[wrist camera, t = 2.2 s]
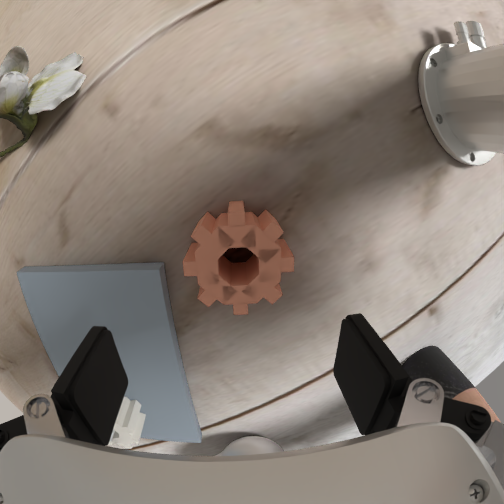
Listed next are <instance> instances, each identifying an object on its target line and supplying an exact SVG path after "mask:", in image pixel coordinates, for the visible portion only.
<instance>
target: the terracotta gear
mask: <svg viewBox="0 0 504 504" xmlns="http://www.w3.org/2000/svg"><path fill="white" fill-rule="evenodd" d="M283 233H284V232H283V230H282V228H281V227H280V225H279V224H278V222H277V220H276V219H275V218H274V217H273V216H272V215H271V214H270V213H269V212H268V211H267V210H266V209H265V210H264V211H263V212H262V213H261V214H260V216H259V217H257V216H256V215H255V214H254V213H252V212H245V210H244V204H243V201H229V208H228V213H221V214H220V215H219V216H218V217H217V218H216V219H215V218H214V217H213V216H212V215H211V214H210V213H208V212H207V213H206V214H205V215H204V216H203V217H202V218H201V219H200V220H199V222H198V224H197V225H196V227H195V229H194V231H193V233H192V235H191V237H192V238H193V239H194V240H195V241H197V242H198V243H191V245H190V247H189V249H188V251H187V254H186V256H185V258H184V260H183V270H184V276H197V279H198V285H199V286H200V290H199V294H198V298H197V299H199V300H200V301H201V302H203V303H204V304H205V305H206V306H208V307H210V306H211V305H212V304H213V303H214V302H215V301H216V300H218V301H220V302H221V303H222V304H224V305H230V304H233V312H234V315H244V314H248V304H253V303H258V302H259V301H260V300H261V299H262V298H263V297H264V298H265V299H266V300H267V301H269V302H270V303H271V304H273V303H274V302H276V301H277V300H278V299H279V298H280V297H281V296H282V295H283V294H282V291H281V288H280V285H279V282H280V281H281V272H294V256H293V254H292V252H291V250H290V249H289V247H288V245H287V243H286V242H285V240H284V239H278V238H279V237H280V236H281V235H282V234H283ZM241 247H247V248H248V249H249V250H250V251H251V252H252V253H254V254H253V255H252V256H251V257H250V258H249V260H248V261H247V262H245V263H231V262H230V261H229V260H228V259H226V258H225V257H224V256H223V254H224V253H225V252H226V251H227V250H228V249H229V248H241Z"/></svg>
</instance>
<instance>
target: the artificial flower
mask: <svg viewBox="0 0 504 504" xmlns="http://www.w3.org/2000/svg"><path fill="white" fill-rule="evenodd" d="M82 57H83V56H82ZM82 57H81V56H80V54H79V55H77V54H76V52H74V53H72V54H70V55H68V56H67V57H65V58H64V59H62V60H60V61H58V62H55V63H51V64H49V65H47V66H45V68H44V69H43V70H42V72H41V73H39V74H37V75H35V76H34V77H33V78H32V81H31V82H30V84H29V85H28V81H29V78H28V77H27V76H26V74H27V72H28V68H29V61H28V56H27V54H26V51H25V49H24V48H22V47H20V46H15V47H13V48H12V49H11V50H10V51H9V52H8V54H7V55H6V57H5V59H4V61H3V63H2V64H1V66H0V118H3V119H8V120H9V121H11V122H12V123H14V124H15V125H16V126H17V128H18V129H20V130H21V131H22V133H23V135H24V139H23V140H21V141H20V142H18V143H17V144H15V145H13V146H11V147H9V148H8V149H6V150H5V151H2V152H0V157H2V156H4V155H5V154H6V153H10V152H11V151H13V150H15V149H16V148H18V147H20V146H22V145H23V144H24V143H25V142H27V140H28V139H29V137H30V134H31V132H32V131H33V129H34V127H35V125H36V123H37V114H36V113H39V112H41V111H47V110H53V109H55V108H56V107H57V106H58V105H59V104H60V103H61V102H63V101H64V100H66V99H67V98H69V97H71V96H72V95H74V94H75V92H76V91H77V90H78V89H79V88H80V87H81V85H82V83H83V82H84V80H85V78H86V75H85V74H82V73H80V72H78V71H74V69H75V68H77V67H78V66H79V65H80V64H81V63H82V62H83V60H82Z"/></svg>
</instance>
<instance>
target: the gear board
mask: <svg viewBox="0 0 504 504" xmlns="http://www.w3.org/2000/svg"><path fill="white" fill-rule="evenodd" d="M17 276H18V279H19V282H20V286H21V289H22V292H23V295H24V298H25V301H26V304H27V306H28V309H29V312H30V314H31V317H32V320H33V322H34V325H35V327H36V329H37V332H38V334H39V337H40V339H41V341H42V343H43V345H44V348H45V350H46V352H47V354H48V356H49V358H50V360H51V362H52V364H53V366H54V368H55V370H56V372H57V374H58V376H59V377H60V375H61V373H62V372H63V370H64V369H65V367H66V365H67V364H68V362H69V361H70V359H71V358H72V356H73V354H74V353H75V351H76V350H77V348H78V347H79V345H80V344H81V342H82V341H83V339H84V338H85V336H86V335H87V333H88V332H89V330H90V329H91V328H92V327H93V326H105V327H106V328H107V329H108V330H110V331H111V333H112V336H113V339H114V342H115V345H116V348H117V350H118V353H119V356H120V359H121V362H122V364H123V367H124V370H125V372H126V375H127V377H128V387H127V390H126V392H125V395H124V396H125V397H128V399H129V400H130V401H131V400H137V401H138V402H139V403H140V404H141V409H140V413H143V414H146V417H145V421H144V425H143V429H142V433H141V437H140V438H147V439H155V440H164V441H176V442H193V443H201V438H202V433H201V430H200V426H199V423H198V420H197V416H196V413H195V409H194V406H193V402H192V398H191V395H190V391H189V387H188V383H187V379H186V375H185V371H184V367H183V362H182V358H181V354H180V349H179V345H178V340H177V335H176V330H175V325H174V320H173V315H172V310H171V304H170V299H169V293H168V287H167V281H166V274H165V267H164V262H154V263H126V264H97V265H65V266H29V267H23V268H22V269H21V270H19V271H18V272H17ZM114 432H115V430H114V429H113V431H112V435H111V438H110V441H112V438H113V435H114Z"/></svg>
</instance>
